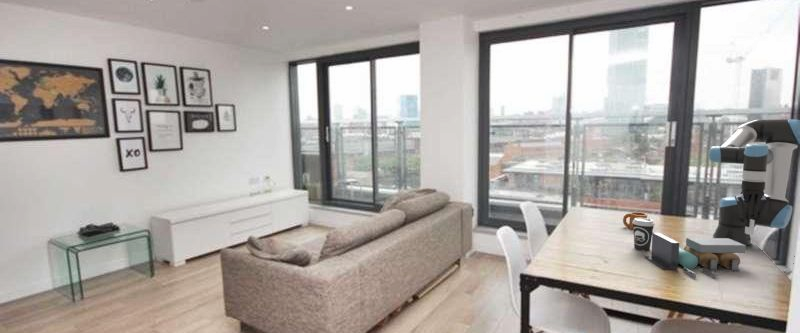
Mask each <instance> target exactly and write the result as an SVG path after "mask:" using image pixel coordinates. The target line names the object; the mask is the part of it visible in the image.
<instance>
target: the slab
mask: <svg viewBox="0 0 800 333" xmlns="http://www.w3.org/2000/svg"><path fill="white" fill-rule="evenodd" d="M685 246H688V247H690V248H692V249H694V250H696V251H698V252H700V253H733V254H746V248H747V245H744V244H741V243H739V242H736V241H734V240H731V239H729V238H713V237H686V238H685Z"/></svg>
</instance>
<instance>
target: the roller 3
mask: <svg viewBox="0 0 800 333" xmlns="http://www.w3.org/2000/svg"><path fill="white" fill-rule="evenodd" d="M713 254H715V255H716V256H717V257H718V259H719V263H718V265H719V266H722V267H725V269H730V259H738V260H739V263H738V266H740V264H741V258H740V256H739V255H737V253H713Z"/></svg>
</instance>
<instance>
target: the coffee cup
mask: <svg viewBox="0 0 800 333" xmlns="http://www.w3.org/2000/svg"><path fill="white" fill-rule="evenodd" d="M632 223H633V229H634V230H633V229H632V230H633V246H634V249H635V250H637V251H639V252H640V251H641V252H649V251H650V250H651V246H652V233H654V232H653V231H654V227H655V225H656V224H655V221H654V220H653V219H651V218H648V217H647V218H634V220H633V222H632Z"/></svg>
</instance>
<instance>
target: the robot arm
mask: <svg viewBox="0 0 800 333" xmlns="http://www.w3.org/2000/svg"><path fill="white" fill-rule="evenodd" d="M753 143H754V144H753ZM755 143H765V144H755ZM799 145H800V119H790V118H786V119H756V120H752V121H748V122H746V123H743V124H741V125H739V126H738V127H737V128H736V129H735V130H733V132H732V135H731V136H730V137H729V138H728V139H727V140H726V141H725V142H724V143H723V144H722V145H721V146H720V145H717V146H711V147H710V149H709V153H708V158H709V161H710V162H713V163H719V164H740V165H743V169H742V177H741V178H742V180H741V192H740V194H739V195H735V196H726V197H723V198H721V199H720V200H719V207H718V208H719V211H718V222H717V223H718V225H717V226H716V228H715V230H714V233H713V234H712V238H729V239H731V240H734V241H736V242H739V243H741V244H744V245H746V246H751V244H752V238H751V236H754V231H755V228H756V227H757V226H760V227H766V228H771V229H785V228H786V227H787V226H788V225H789V222H790V220H791V217H792V214H793V206H792V205H789V200H788V199H787V198H786V196H787V195H786V194H787V189H788V183H789V176H790V169H791V162H792V156H793V151H794V150H795V149H797V148H798V147H799Z"/></svg>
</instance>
